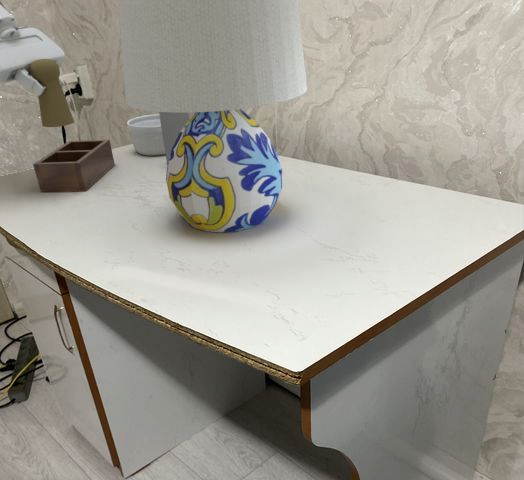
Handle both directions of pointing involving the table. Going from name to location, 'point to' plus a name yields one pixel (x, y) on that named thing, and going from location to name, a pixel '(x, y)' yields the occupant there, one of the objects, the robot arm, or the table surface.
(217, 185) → the table lamp
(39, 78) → the cork
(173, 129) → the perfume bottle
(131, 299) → the table surface
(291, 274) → the table surface
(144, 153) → the ramekin
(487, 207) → the table surface
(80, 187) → the wooden box
